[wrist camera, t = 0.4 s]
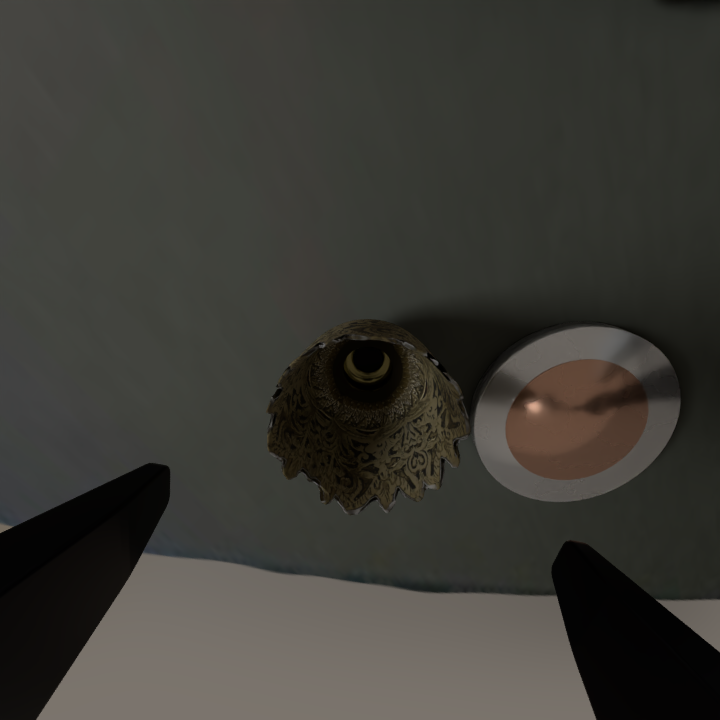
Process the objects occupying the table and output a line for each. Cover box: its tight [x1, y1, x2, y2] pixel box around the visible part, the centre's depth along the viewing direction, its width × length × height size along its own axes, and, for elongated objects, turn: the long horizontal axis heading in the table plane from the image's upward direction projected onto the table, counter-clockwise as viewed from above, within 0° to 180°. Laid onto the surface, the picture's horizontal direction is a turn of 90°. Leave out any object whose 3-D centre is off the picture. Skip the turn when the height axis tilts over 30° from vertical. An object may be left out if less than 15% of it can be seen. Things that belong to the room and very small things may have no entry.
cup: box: [266, 319, 471, 515], centre depth 17 cm, size 8×7×8 cm
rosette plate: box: [469, 321, 681, 502], centre depth 21 cm, size 11×11×1 cm
